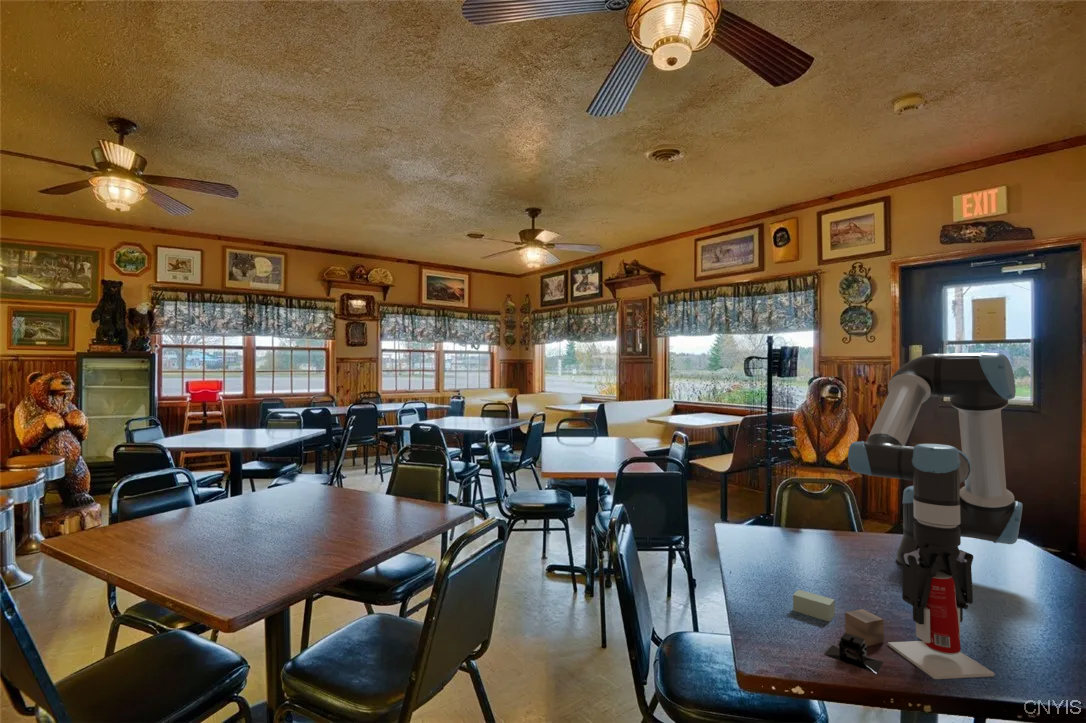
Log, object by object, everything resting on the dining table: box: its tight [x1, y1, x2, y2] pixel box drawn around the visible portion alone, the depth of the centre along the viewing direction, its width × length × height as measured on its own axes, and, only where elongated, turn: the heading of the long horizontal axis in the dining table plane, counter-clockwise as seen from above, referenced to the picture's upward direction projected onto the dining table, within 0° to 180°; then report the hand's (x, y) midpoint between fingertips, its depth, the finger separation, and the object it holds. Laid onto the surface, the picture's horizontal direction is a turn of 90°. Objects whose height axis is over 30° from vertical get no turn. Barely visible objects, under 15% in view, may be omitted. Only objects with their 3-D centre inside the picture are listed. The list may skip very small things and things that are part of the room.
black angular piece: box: [823, 632, 884, 675], centre depth 105 cm, size 12×7×5 cm, turn 45°
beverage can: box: [925, 569, 962, 655], centre depth 104 cm, size 6×6×15 cm
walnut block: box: [844, 608, 885, 648], centre depth 113 cm, size 5×5×5 cm
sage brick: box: [792, 589, 836, 623], centre depth 124 cm, size 4×8×4 cm, turn 46°
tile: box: [887, 640, 995, 680], centre depth 104 cm, size 12×12×1 cm
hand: (938, 638), depth 104 cm, fingers closed on beverage can, 6 cm apart
